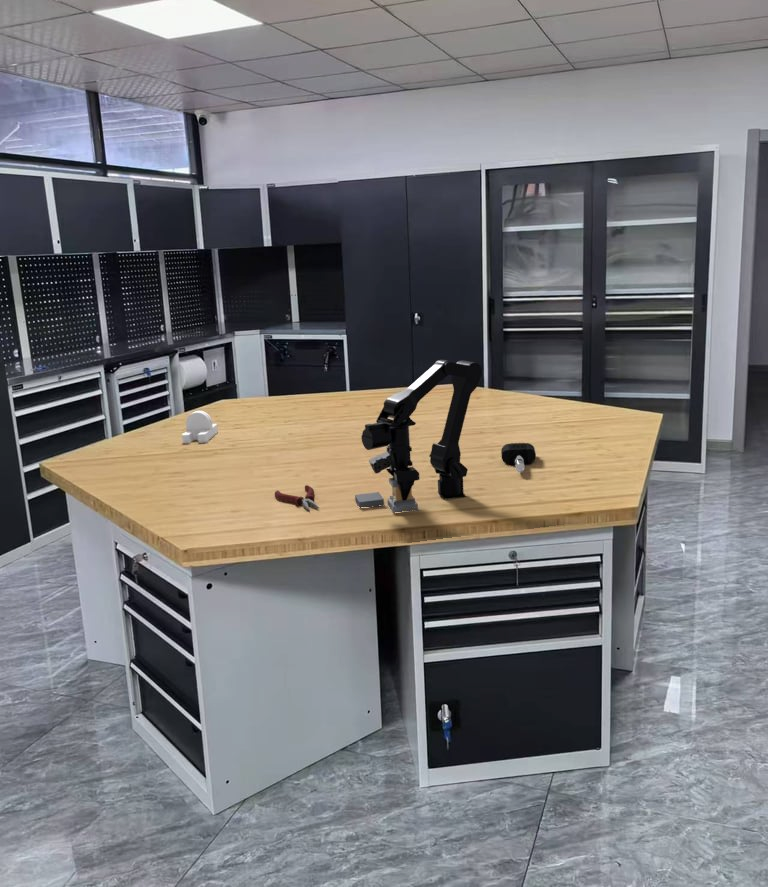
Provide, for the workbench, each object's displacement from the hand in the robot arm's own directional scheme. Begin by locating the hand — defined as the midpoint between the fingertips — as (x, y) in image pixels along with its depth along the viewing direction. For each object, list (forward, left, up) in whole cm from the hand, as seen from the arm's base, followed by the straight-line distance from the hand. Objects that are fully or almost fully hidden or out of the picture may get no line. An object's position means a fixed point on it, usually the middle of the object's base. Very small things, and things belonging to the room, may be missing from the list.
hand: (402, 497), depth 229 cm
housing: (0, 0, -1) cm, 1 cm away
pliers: (+28, -17, -4) cm, 33 cm away
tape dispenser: (+56, -114, -4) cm, 127 cm away
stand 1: (+8, -7, -3) cm, 11 cm away
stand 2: (0, 0, -3) cm, 3 cm away
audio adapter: (-44, -26, -4) cm, 52 cm away
